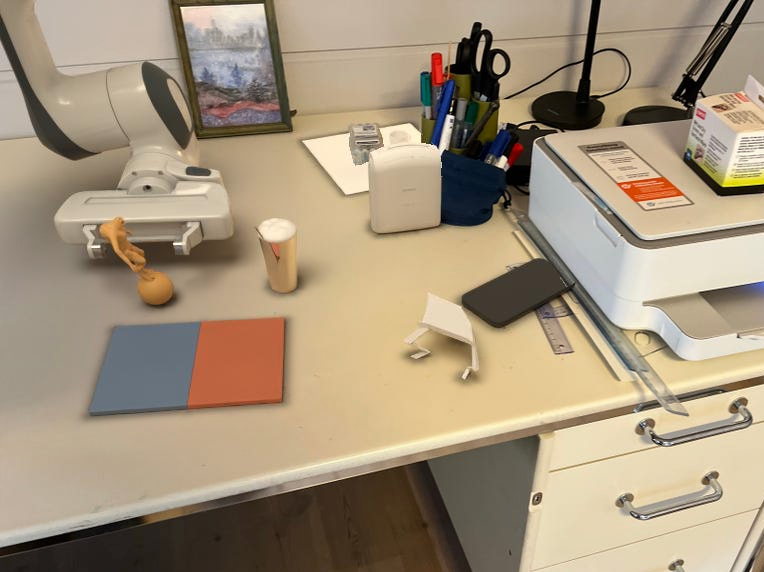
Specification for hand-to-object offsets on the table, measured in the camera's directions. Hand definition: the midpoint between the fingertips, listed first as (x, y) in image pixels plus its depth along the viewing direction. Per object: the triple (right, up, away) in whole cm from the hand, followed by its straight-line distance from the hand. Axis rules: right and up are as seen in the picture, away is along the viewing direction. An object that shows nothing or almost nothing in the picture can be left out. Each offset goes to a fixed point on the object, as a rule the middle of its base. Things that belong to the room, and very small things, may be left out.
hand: (138, 251), depth 87 cm
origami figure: (+36, -12, 0) cm, 38 cm away
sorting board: (+8, -13, -4) cm, 16 cm away
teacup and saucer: (+23, +21, +37) cm, 48 cm away
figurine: (0, -6, +4) cm, 7 cm away
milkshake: (+15, -4, +8) cm, 17 cm away
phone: (+45, -4, +10) cm, 46 cm away
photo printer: (+29, +7, +21) cm, 36 cm away
